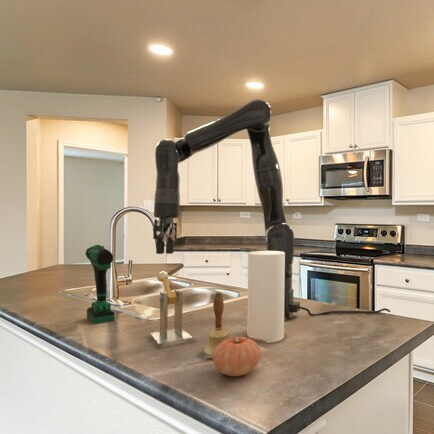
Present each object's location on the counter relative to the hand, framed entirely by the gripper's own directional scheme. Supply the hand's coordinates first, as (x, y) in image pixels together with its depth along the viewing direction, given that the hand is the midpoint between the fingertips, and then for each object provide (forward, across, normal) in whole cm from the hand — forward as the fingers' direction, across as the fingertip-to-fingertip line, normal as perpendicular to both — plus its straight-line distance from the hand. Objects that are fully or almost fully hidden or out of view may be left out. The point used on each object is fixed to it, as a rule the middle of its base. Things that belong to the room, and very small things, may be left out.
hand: (165, 253), depth 121 cm
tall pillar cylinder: (+24, -9, -33) cm, 42 cm away
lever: (+11, -6, -3) cm, 13 cm away
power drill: (+22, +14, +28) cm, 38 cm away
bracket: (+24, -10, -6) cm, 27 cm away
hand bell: (+26, -22, -22) cm, 40 cm away
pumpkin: (+27, -33, -29) cm, 51 cm away
